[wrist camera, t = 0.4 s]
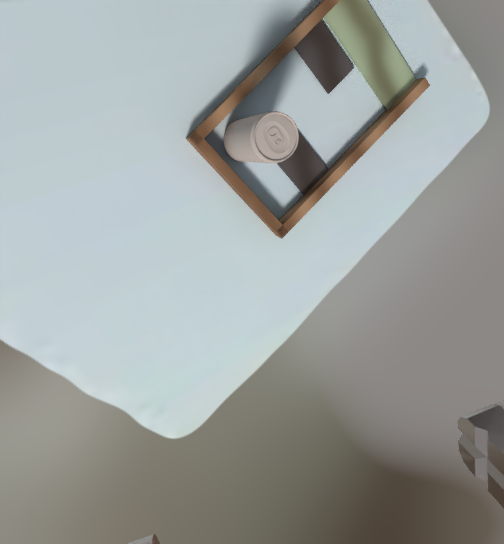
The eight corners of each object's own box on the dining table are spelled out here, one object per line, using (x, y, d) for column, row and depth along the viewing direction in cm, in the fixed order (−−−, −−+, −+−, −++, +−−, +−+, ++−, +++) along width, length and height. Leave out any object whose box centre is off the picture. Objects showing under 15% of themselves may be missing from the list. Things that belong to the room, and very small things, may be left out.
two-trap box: (276, 235, 57) (281, 238, 55) (186, 138, 51) (188, 138, 49) (419, 87, 58) (429, 85, 56) (348, -27, 52) (357, -33, 50)
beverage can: (237, 169, 54) (271, 173, 42) (213, 135, 52) (242, 130, 41) (268, 145, 54) (309, 143, 43) (245, 110, 52) (282, 99, 41)
